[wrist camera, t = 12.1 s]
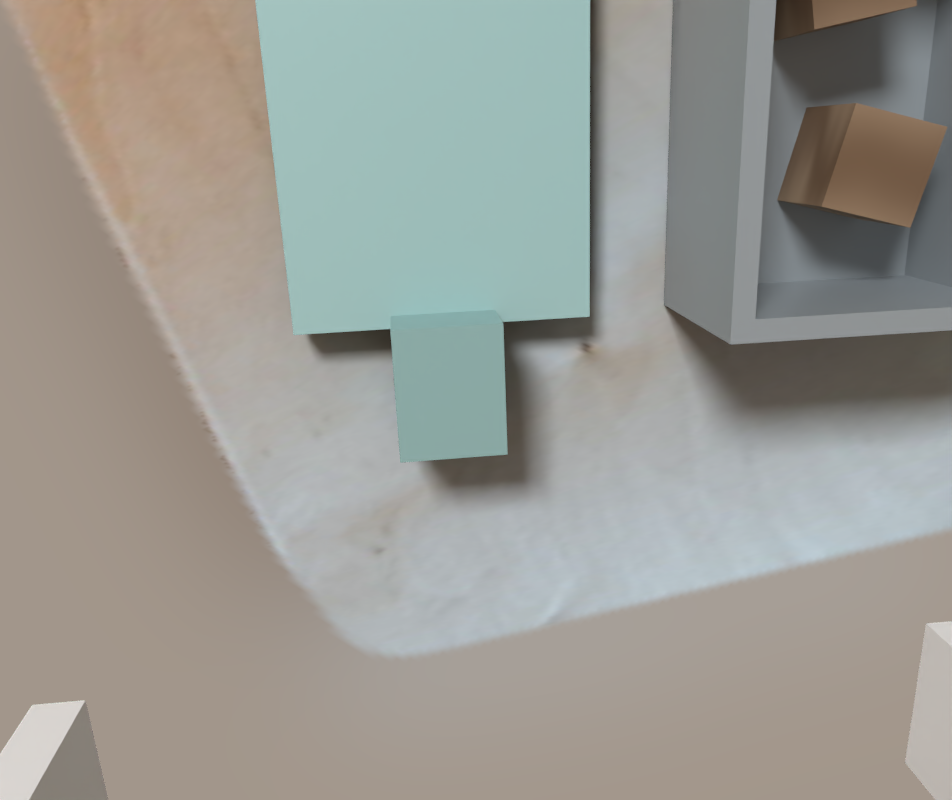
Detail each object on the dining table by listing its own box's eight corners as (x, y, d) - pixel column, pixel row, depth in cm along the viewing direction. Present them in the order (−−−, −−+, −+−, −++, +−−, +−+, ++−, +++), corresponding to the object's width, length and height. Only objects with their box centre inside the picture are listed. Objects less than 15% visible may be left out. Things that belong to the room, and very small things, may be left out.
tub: (677, -131, 28) (762, -215, 22) (961, -136, 29) (1127, -219, 23) (664, 304, 33) (730, 344, 27) (908, 289, 34) (1032, 325, 27)
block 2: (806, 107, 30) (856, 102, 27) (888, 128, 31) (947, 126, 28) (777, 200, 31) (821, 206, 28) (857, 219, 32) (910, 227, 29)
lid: (245, -157, 27) (218, -213, 23) (577, -162, 28) (610, -216, 24) (311, 429, 34) (299, 470, 29) (578, 409, 35) (604, 447, 30)
